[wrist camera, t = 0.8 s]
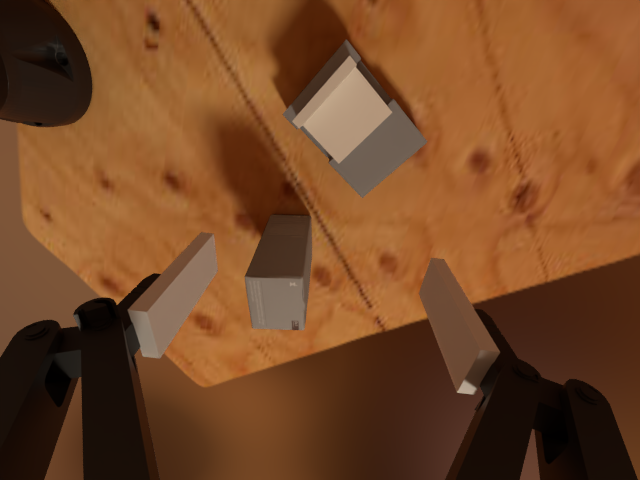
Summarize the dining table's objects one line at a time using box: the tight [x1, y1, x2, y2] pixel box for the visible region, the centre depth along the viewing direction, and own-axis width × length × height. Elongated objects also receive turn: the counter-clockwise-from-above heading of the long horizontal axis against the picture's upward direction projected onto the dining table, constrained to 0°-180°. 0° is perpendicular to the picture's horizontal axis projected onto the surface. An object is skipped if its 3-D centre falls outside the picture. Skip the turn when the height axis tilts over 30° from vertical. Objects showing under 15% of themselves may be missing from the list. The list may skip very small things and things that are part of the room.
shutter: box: [292, 56, 392, 164], centre depth 30 cm, size 7×8×4 cm
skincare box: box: [245, 215, 312, 330], centre depth 37 cm, size 8×7×16 cm
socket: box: [283, 39, 427, 198], centre depth 34 cm, size 14×10×4 cm
